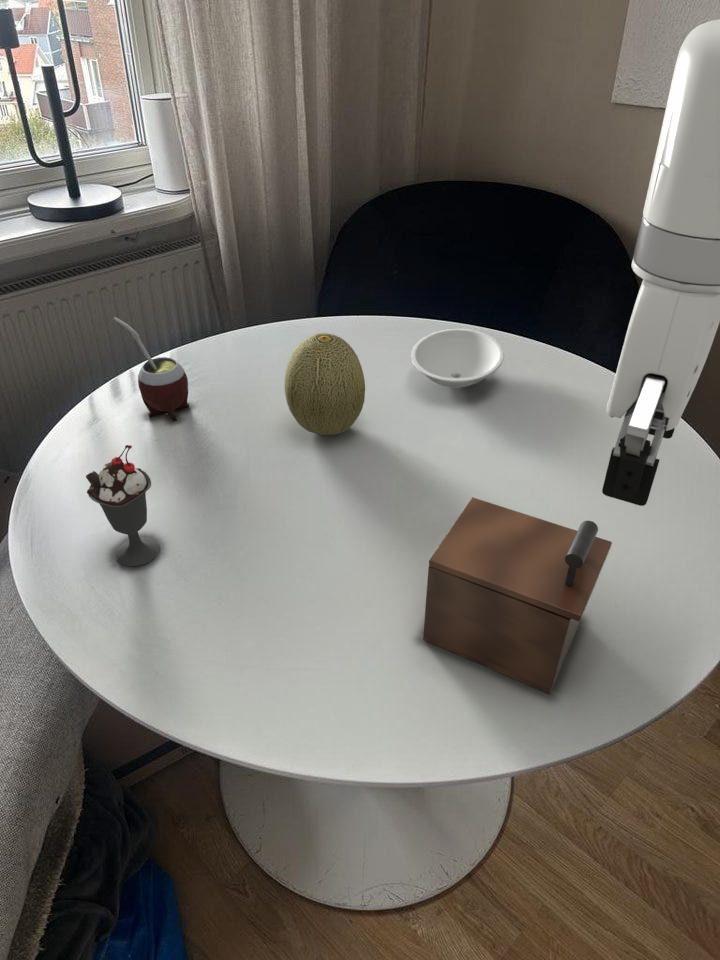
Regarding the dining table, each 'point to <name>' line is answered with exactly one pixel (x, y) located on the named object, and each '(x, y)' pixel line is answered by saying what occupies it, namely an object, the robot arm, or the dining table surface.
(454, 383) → the dish
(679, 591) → the dining table surface
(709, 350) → the robot arm
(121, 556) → the sundae
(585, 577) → the lid
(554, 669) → the chest
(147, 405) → the mate gourd
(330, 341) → the fruit
